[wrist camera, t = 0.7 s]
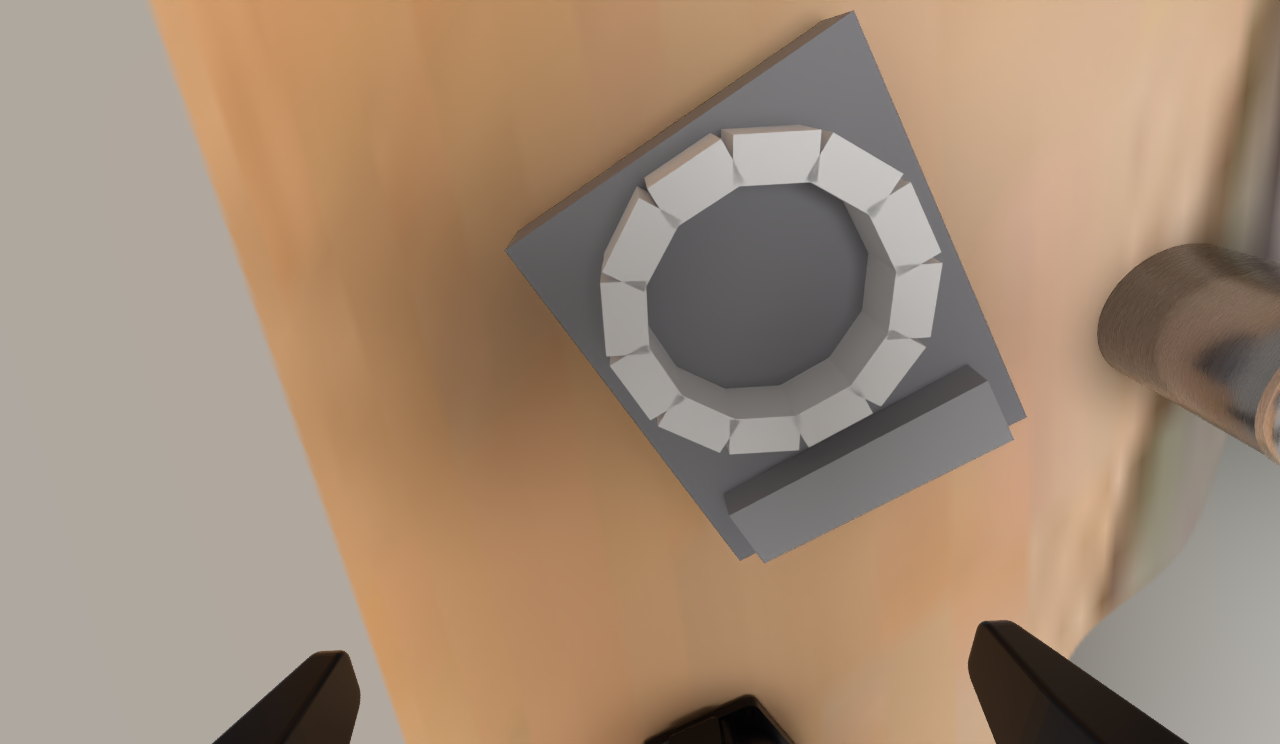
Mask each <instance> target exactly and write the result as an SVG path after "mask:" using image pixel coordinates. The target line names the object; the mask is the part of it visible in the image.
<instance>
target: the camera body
mask: <svg viewBox="0 0 1280 744" xmlns="http://www.w3.org/2000/svg"><path fill="white" fill-rule="evenodd" d="M505 252H506V253H507V254H508V256H509V257H510V258H511V260H512V261H513V262H514V263H515V265H516V266H517V267H518V269H519V270H520V271H521V273H522V274H523V275H524V277H525V278H526V279H527V281H528V282H529V283H530V285H531V286H532V287H533V289H534V290H535V291H536V292H537V294H538V295H539V296H540V298H541V299H542V300H543V302H544V303H545V304H546V306H547V307H548V308H549V310H550V311H551V312H552V314H553V315H554V316H555V318H556V319H557V320H558V321H559V323H560V324H561V325H562V327H563V328H564V329H565V331H566V332H567V333H568V335H569V336H570V337H571V339H572V340H573V341H574V343H575V344H576V345H577V347H578V348H579V349H580V351H581V352H582V353H583V354H584V356H585V357H586V358H587V360H588V361H589V362H590V364H591V365H592V366H593V368H594V369H595V370H596V372H597V373H598V374H599V376H600V377H601V378H602V380H603V381H604V382H605V383H606V385H607V386H608V387H609V389H610V390H611V391H612V393H613V394H614V395H615V397H616V398H617V399H618V401H619V402H620V403H621V405H622V406H623V407H624V409H625V410H626V411H627V412H628V414H629V415H630V416H631V418H632V419H633V420H634V422H635V423H636V424H637V426H638V427H639V428H640V430H641V431H642V432H643V434H644V435H645V436H646V438H647V439H648V440H649V441H650V443H651V444H652V445H653V447H654V448H655V449H656V451H657V452H658V453H659V455H660V456H661V457H662V459H663V460H664V461H665V463H666V464H667V465H668V467H669V468H670V469H671V470H672V472H673V473H674V474H675V476H676V477H677V478H678V480H679V481H680V482H681V484H682V485H683V486H684V488H685V489H686V490H687V492H688V493H689V494H690V496H691V497H692V498H693V499H694V501H695V502H696V503H697V505H698V506H699V507H700V509H701V510H702V511H703V513H704V514H705V515H706V517H707V518H708V519H709V521H710V522H711V523H712V525H713V526H714V527H715V529H716V530H717V531H718V532H719V534H720V535H721V536H722V538H723V539H724V540H725V542H726V543H727V544H728V546H729V547H730V548H731V550H732V551H733V552H734V554H735V555H736V556H737V558H738V559H739V560H740V561H741V560H743V559H745V558H747V557H749V556H751V555H753V554H755V553H757V554H758V556H759V557H760V558H761V560H762V561H763V562H764V563H766V562H768V561H770V560H772V559H774V558H776V557H778V556H780V555H782V554H784V553H786V552H788V551H790V550H792V549H794V548H796V547H798V546H800V545H802V544H805V543H807V542H809V541H811V540H813V539H815V538H817V537H819V536H821V535H823V534H825V533H827V532H829V531H831V530H833V529H835V528H837V527H839V526H841V525H843V524H845V523H847V522H849V521H851V520H853V519H855V518H857V517H859V516H861V515H863V514H865V513H867V512H869V511H871V510H873V509H875V508H877V507H879V506H881V505H883V504H885V503H887V502H889V501H891V500H893V499H895V498H897V497H899V496H901V495H903V494H905V493H907V492H909V491H911V490H913V489H915V488H917V487H919V486H921V485H923V484H925V483H927V482H929V481H931V480H934V479H936V478H938V477H940V476H942V475H944V474H946V473H948V472H950V471H952V470H954V469H956V468H958V467H960V466H962V465H964V464H966V463H968V462H970V461H972V460H974V459H976V458H978V457H980V456H982V455H984V454H986V453H988V452H990V451H992V450H994V449H996V448H998V447H1000V446H1002V445H1004V444H1006V443H1008V442H1010V441H1012V440H1014V438H1013V436H1012V434H1011V432H1010V429H1009V427H1008V426H1010V425H1012V424H1014V423H1016V422H1018V421H1020V420H1022V419H1024V418H1026V417H1027V416H1026V414H1025V412H1024V409H1023V407H1022V405H1021V402H1020V400H1019V398H1018V395H1017V393H1016V391H1015V388H1014V386H1013V383H1012V381H1011V379H1010V376H1009V374H1008V372H1007V369H1006V367H1005V365H1004V362H1003V360H1002V358H1001V355H1000V353H999V351H998V348H997V346H996V344H995V341H994V339H993V337H992V334H991V332H990V329H989V327H988V325H987V322H986V320H985V318H984V315H983V313H982V311H981V308H980V306H979V304H978V301H977V299H976V297H975V294H974V292H973V290H972V287H971V285H970V282H969V280H968V278H967V275H966V273H965V271H964V268H963V266H962V264H961V261H960V259H959V257H958V254H957V252H956V250H955V247H954V245H953V243H952V240H951V238H950V235H949V233H948V231H947V228H946V226H945V224H944V221H943V219H942V217H941V214H940V212H939V210H938V207H937V205H936V203H935V200H934V198H933V196H932V193H931V191H930V189H929V186H928V184H927V181H926V179H925V177H924V174H923V172H922V170H921V167H920V165H919V163H918V160H917V158H916V156H915V153H914V151H913V149H912V146H911V144H910V142H909V139H908V137H907V134H906V132H905V130H904V127H903V125H902V123H901V120H900V118H899V116H898V113H897V111H896V109H895V106H894V104H893V102H892V99H891V97H890V95H889V92H888V90H887V87H886V85H885V83H884V80H883V78H882V76H881V73H880V71H879V69H878V66H877V64H876V62H875V59H874V57H873V55H872V52H871V50H870V48H869V45H868V43H867V40H866V38H865V36H864V33H863V31H862V29H861V26H860V24H859V22H858V19H857V17H856V15H855V12H854V11H851V12H848V13H844V14H841V15H838V16H835V17H832V18H829V19H825V20H823V21H821V22H820V23H819V24H817V25H816V26H814V27H813V28H811V29H810V30H808V31H807V32H806V33H804V34H803V35H801V36H800V37H798V38H797V39H795V40H794V41H793V42H791V43H790V44H788V45H787V46H785V47H784V48H782V49H781V50H780V51H778V52H777V53H775V54H774V55H772V56H771V57H769V58H768V59H767V60H765V61H764V62H762V63H761V64H759V65H758V66H756V67H755V68H754V69H752V70H751V71H749V72H748V73H746V74H745V75H743V76H742V77H741V78H739V79H738V80H736V81H735V82H733V83H732V84H730V85H729V86H728V87H726V88H725V89H723V90H722V91H720V92H719V93H717V94H716V95H715V96H713V97H712V98H710V99H709V100H707V101H706V102H704V103H703V104H702V105H700V106H699V107H697V108H696V109H694V110H693V111H691V112H690V113H689V114H687V115H686V116H684V117H683V118H681V119H680V120H678V121H677V122H675V123H674V124H673V125H671V126H670V127H668V128H667V129H665V130H664V131H662V132H661V133H660V134H658V135H657V136H655V137H654V138H652V139H651V140H649V141H648V142H647V143H645V144H644V145H642V146H641V147H639V148H638V149H636V150H635V151H634V152H632V153H631V154H629V155H628V156H626V157H625V158H623V159H622V160H621V161H619V162H618V163H616V164H615V165H613V166H612V167H610V168H609V169H608V170H606V171H605V172H603V173H602V174H600V175H599V176H597V177H596V178H595V179H593V180H592V181H590V182H589V183H587V184H586V185H584V186H583V187H582V188H580V189H579V190H577V191H576V192H574V193H573V194H571V195H570V196H569V197H567V198H566V199H564V200H563V201H561V202H560V203H558V204H557V205H556V206H554V207H553V208H551V209H550V210H548V211H547V212H545V213H544V214H543V215H541V216H540V217H538V218H537V219H535V220H534V221H532V222H531V223H529V224H528V225H527V226H525V227H524V228H522V229H521V230H519V231H518V232H517V233H516V235H515V236H514V238H513V239H512V241H511V242H510V244H509V245H508V246H507V248H506V249H505Z"/></svg>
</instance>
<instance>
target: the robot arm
mask: <svg viewBox="0 0 1280 744" xmlns="http://www.w3.org/2000/svg"><path fill="white" fill-rule="evenodd" d="M968 670H969V675H970V679H971V682H972V684H973V687H974V689H975V692H976V694H977V697H978V699H979V702H980V704H981V707H982V709H983V712H984V714H985V717H986V719H987V722H988V724H989V727H990V729H991V732H992V734H993V737H994V739H995V742H996V744H1188V743H1187V742H1186V741H1184V740H1183V739H1181V738H1180V737H1178V736H1177V735H1175V734H1174V733H1172V732H1171V731H1170V730H1168V729H1167V728H1165V727H1164V726H1163V725H1161V724H1159V723H1158V722H1157V721H1155V720H1154V719H1152V718H1151V717H1149V716H1148V715H1146V714H1145V713H1144V712H1142V711H1141V710H1140V709H1138V708H1137V707H1135V706H1134V705H1132V704H1131V703H1129V702H1128V701H1127V700H1125V699H1124V698H1122V697H1121V696H1119V695H1118V694H1116V693H1115V692H1114V691H1112V690H1110V689H1109V688H1108V687H1106V686H1105V685H1104V684H1102V683H1101V682H1099V681H1098V680H1096V679H1095V678H1093V677H1092V676H1091V675H1089V674H1088V673H1086V672H1085V671H1083V670H1082V669H1081V668H1079V667H1078V666H1076V665H1075V664H1073V663H1072V662H1071V661H1069V660H1068V659H1066V658H1065V657H1063V656H1062V655H1060V654H1059V653H1058V652H1056V651H1055V650H1053V649H1052V648H1050V647H1049V646H1048V645H1046V644H1045V643H1043V642H1042V641H1040V640H1039V639H1037V638H1036V637H1035V636H1033V635H1032V634H1030V633H1029V632H1027V631H1026V630H1024V629H1023V628H1022V627H1020V626H1019V625H1017V624H1016V623H1014V622H1011V621H1008V620H997V621H984V622H981V623H980V624H979V625H978V627H977V630H976V634H975V637H974V641H973V645H972V648H971V652H970V656H969V660H968ZM359 705H360V688H359V685H358V682H357V679H356V676H355V673H354V669H353V666H352V663H351V660H350V657H349V655H348V654H347V653H346V652H345V651H342V650H337V651H321V652H317V653H314V654H313V655H311V656H310V657H309V658H307V659H306V660H305V661H304V662H303V663H302V664H301V665H300V666H299V667H298V668H296V669H295V670H294V671H293V672H292V673H291V674H289V676H287V677H286V678H285V679H284V680H283V681H282V682H281V683H279V684H278V685H277V686H276V687H275V688H274V689H273V690H272V691H270V692H269V693H268V694H267V695H266V696H265V697H264V698H263V699H261V700H260V701H259V702H258V703H257V704H256V705H255V706H254V707H252V708H251V709H250V710H249V711H248V712H247V713H246V714H245V715H244V716H243V717H241V718H240V719H239V720H238V721H237V722H236V723H235V724H233V725H232V726H231V727H230V728H229V729H228V730H227V731H226V732H225V733H223V734H222V735H221V736H220V737H219V738H218V739H217V740H215V741H214V742H213V743H212V744H350V740H351V736H352V732H353V729H354V725H355V721H356V718H357V713H358V710H359ZM645 744H794V743H793V742H792V741H791V740H790V738H789V737H788V736H787V735H786V734H785V733H784V731H783V730H782V729H781V728H780V727H779V726H778V724H777V723H776V722H775V721H774V720H773V719H772V717H771V716H770V715H769V714H768V713H767V712H766V710H765V709H764V708H763V707H762V706H761V705H760V703H759V702H758V701H757V700H756V699H753V698H745V699H742V700H740V701H738V702H736V703H733V704H731V705H729V706H727V707H724V708H722V709H720V710H718V711H716V712H713V713H711V714H709V715H707V716H704V717H702V718H700V719H698V720H695V721H693V722H691V723H689V724H686V725H684V726H682V727H680V728H677V729H675V730H673V731H671V732H669V733H666V734H664V735H662V736H660V737H657V738H655V739H653V740H651V741H648V742H647V743H645Z"/></svg>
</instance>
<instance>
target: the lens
mask: <svg viewBox="0 0 1280 744" xmlns="http://www.w3.org/2000/svg"><path fill="white" fill-rule="evenodd" d="M1098 344H1099V348H1100V351H1101V353H1102V355H1103V357H1104V358H1105V360H1106V361H1107V362H1108V363H1109V364H1110V365H1111V366H1112V367H1114V368H1115V369H1117V370H1118V371H1120V372H1122V373H1123V374H1125V375H1127V376H1128V377H1130V378H1132V379H1134V380H1135V381H1137V382H1139V383H1141V384H1142V385H1144V386H1146V387H1148V388H1149V389H1151V390H1153V391H1154V392H1156V393H1158V394H1160V395H1161V396H1163V397H1165V398H1167V399H1168V400H1170V401H1172V402H1174V403H1175V404H1177V405H1179V406H1181V407H1182V408H1184V409H1186V410H1187V411H1189V412H1191V413H1193V414H1194V415H1196V416H1198V417H1200V418H1201V419H1203V420H1205V421H1207V422H1208V423H1210V424H1212V425H1213V426H1215V427H1217V428H1219V429H1220V430H1222V431H1224V432H1226V433H1227V434H1229V435H1231V436H1233V437H1234V438H1236V439H1238V440H1240V441H1241V442H1243V443H1245V444H1247V445H1248V446H1250V447H1252V448H1253V449H1255V450H1257V451H1259V452H1260V453H1262V454H1264V455H1266V456H1267V457H1268V458H1269V459H1270V460H1271V461H1273V462H1274V463H1276V464H1277V465H1279V466H1280V264H1279V263H1275V262H1272V261H1268V260H1264V259H1261V258H1257V257H1253V256H1250V255H1246V254H1242V253H1239V252H1235V251H1231V250H1228V249H1224V248H1220V247H1217V246H1213V245H1208V244H1187V245H1181V246H1177V247H1173V248H1170V249H1167V250H1165V251H1162V252H1160V253H1158V254H1156V255H1154V256H1152V257H1150V258H1149V259H1147V260H1145V261H1144V262H1142V263H1141V264H1140V265H1138V266H1137V267H1136V268H1134V269H1133V270H1132V271H1131V272H1130V273H1129V274H1128V275H1126V277H1125V278H1124V279H1123V280H1122V281H1121V282H1120V283H1119V284H1118V285H1117V287H1116V288H1115V289H1114V291H1113V292H1112V294H1111V295H1110V297H1109V298H1108V300H1107V302H1106V304H1105V306H1104V308H1103V310H1102V313H1101V316H1100V320H1099V324H1098Z"/></svg>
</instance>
